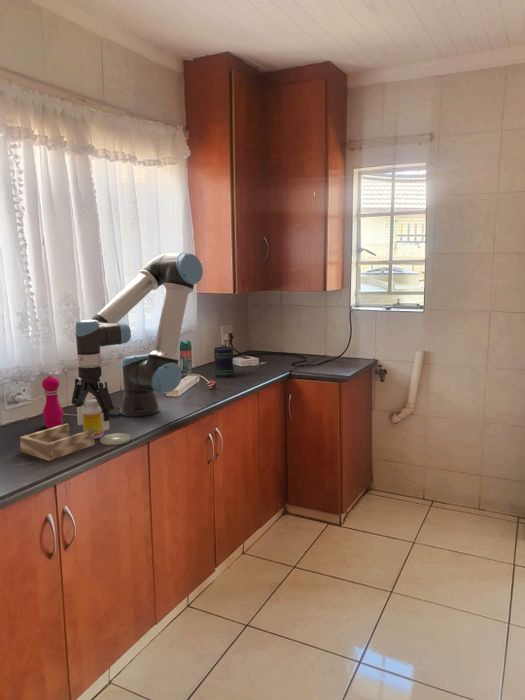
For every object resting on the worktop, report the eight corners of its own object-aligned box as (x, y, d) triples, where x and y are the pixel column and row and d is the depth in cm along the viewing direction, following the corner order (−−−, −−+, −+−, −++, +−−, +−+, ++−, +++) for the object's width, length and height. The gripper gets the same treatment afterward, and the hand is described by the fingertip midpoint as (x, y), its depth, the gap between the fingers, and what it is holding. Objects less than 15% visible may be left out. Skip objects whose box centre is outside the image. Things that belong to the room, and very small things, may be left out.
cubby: (67, 437, 192) (66, 423, 191) (94, 444, 184) (93, 430, 183) (20, 452, 178) (19, 437, 177) (49, 460, 170) (47, 445, 169)
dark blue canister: (226, 379, 281) (225, 350, 279) (210, 377, 286) (210, 349, 284) (237, 375, 290) (236, 347, 287) (222, 374, 295) (221, 346, 292)
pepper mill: (66, 422, 210) (63, 370, 207) (60, 428, 203) (56, 374, 200) (47, 422, 210) (43, 371, 207) (40, 428, 203) (36, 375, 199)
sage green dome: (116, 434, 195) (116, 431, 195) (137, 439, 189) (136, 436, 189) (94, 442, 187) (93, 439, 186) (114, 447, 181) (114, 444, 181)
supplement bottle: (104, 438, 191) (102, 401, 189) (84, 440, 188) (82, 403, 186) (102, 432, 197) (100, 397, 195) (83, 435, 194) (80, 399, 192)
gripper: (58, 364, 192) (62, 424, 196) (104, 371, 179) (108, 435, 183) (76, 360, 198) (79, 419, 202) (122, 367, 185) (125, 429, 189)
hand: (93, 427), depth 192 cm, fingers open, 12 cm apart
